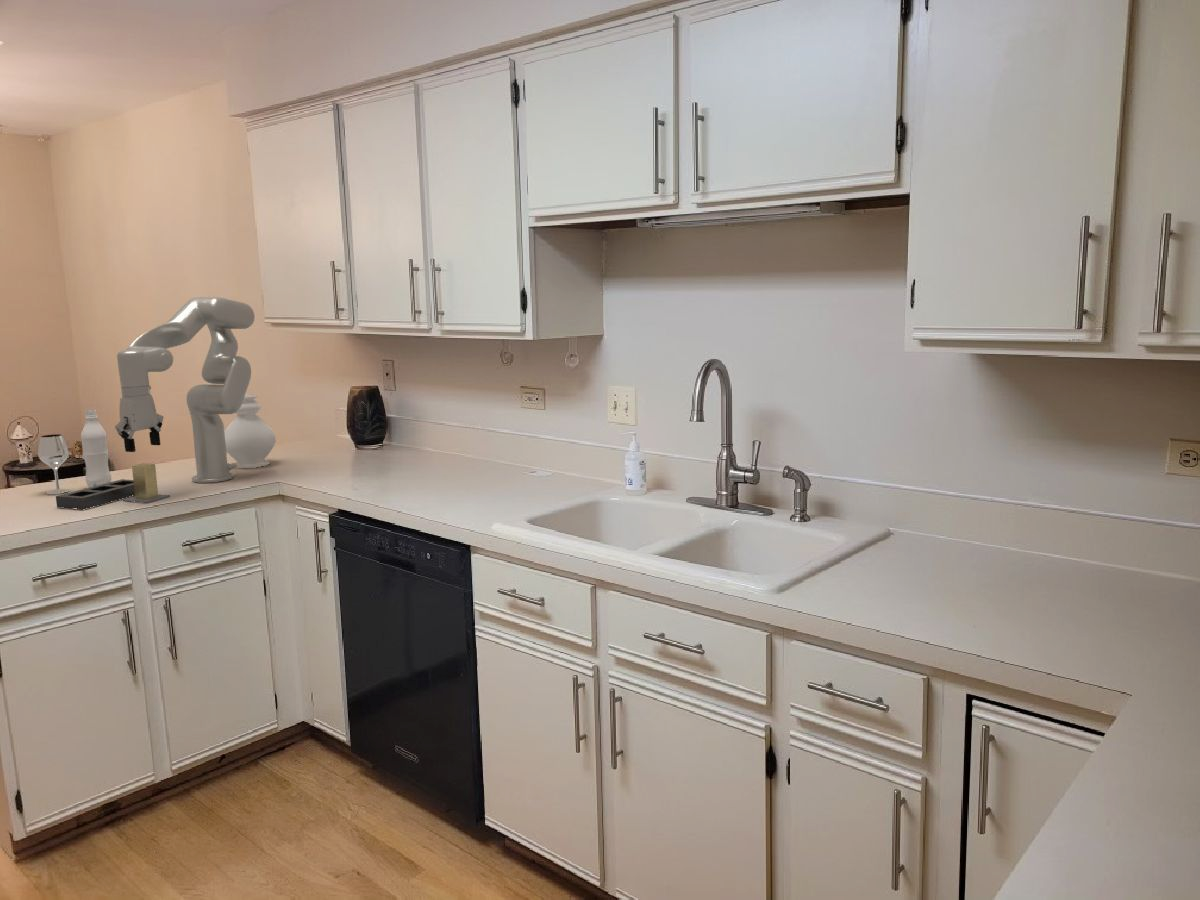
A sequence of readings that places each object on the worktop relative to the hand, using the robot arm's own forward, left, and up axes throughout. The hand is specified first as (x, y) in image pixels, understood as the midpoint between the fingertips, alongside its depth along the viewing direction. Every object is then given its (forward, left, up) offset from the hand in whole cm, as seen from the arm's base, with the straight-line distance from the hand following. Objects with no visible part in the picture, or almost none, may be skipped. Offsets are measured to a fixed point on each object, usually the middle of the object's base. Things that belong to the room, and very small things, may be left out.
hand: (143, 448), depth 266 cm
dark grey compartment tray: (+5, -12, -16) cm, 20 cm away
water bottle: (-8, -27, -16) cm, 33 cm away
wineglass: (+1, -34, -16) cm, 38 cm away
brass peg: (+1, 0, -15) cm, 15 cm away
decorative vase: (-52, -4, -16) cm, 55 cm away
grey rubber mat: (+1, 0, -16) cm, 15 cm away
